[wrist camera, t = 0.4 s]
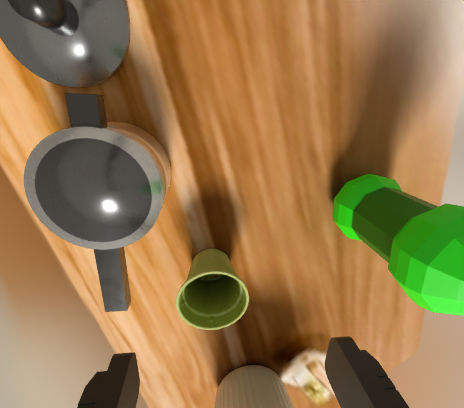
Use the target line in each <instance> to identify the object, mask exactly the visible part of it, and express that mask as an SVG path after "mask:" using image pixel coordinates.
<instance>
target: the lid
mask: <svg viewBox="0 0 464 408" xmlns="http://www.w3.org/2000/svg"><path fill="white" fill-rule="evenodd" d="M0 37H1V39H2V41H3V42H4V44H5V45H6V47H7V48H8V50H9V51H10V52H11V53H12V54H13V55H14V57H15V58H16V59H17V60H18V61H19V62H20V63H21V64H22V65H24V66H25V67H26V68H27V69H29V70H30V71H31V72H33V73H34V74H36V75H37V76H39V77H41V78H43V79H45V80H47V81H49V82H52V83H55V84H58V85H62V86H68V87H89V86H94V85H97V84H99V83H101V82H103V81H105V80H107V79H108V78H110V77H111V76H112V75H113V74H114V73H115V72H116V71H117V70H118V69H119V67H120V66H121V64H122V63H123V61H124V59H125V56H126V54H127V51H128V47H129V42H130V20H129V14H128V10H127V6H126V3H125V0H0Z"/></svg>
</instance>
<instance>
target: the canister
mask: <svg viewBox="0 0 464 408" xmlns="http://www.w3.org/2000/svg"><path fill="white" fill-rule="evenodd" d="M215 408H294V407H293V405H292V402H291V400H290V398H289V395H288V393H287V391H286V388H285V386H284V384H283V382H282V380H281V379H280V378H279V376H278V375H277V374H276V373H275V372H274V371H273V370H270V369H269V368H266V367H265V366H261V365H259V366H257V365H249V366H247V365H246V366H244V367H243V366H242V367H240V368H237V369H236V370H233V371H232V372H230V373H229V374H228V375H226V376H225V378H223V380H222V381H221V383H220V385H219V387H218V390H217V393H216V399H215Z"/></svg>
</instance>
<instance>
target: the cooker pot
mask: <svg viewBox="0 0 464 408" xmlns="http://www.w3.org/2000/svg"><path fill="white" fill-rule="evenodd" d="M65 97H66V102H67V107H68V113H69V118H70V124H71V128H67V129H63V130H60V131H57V132H55V133H53V134H51V135H49V136H48V137H46V138H45V139H43V140H42V141H41V142H40V143H39V144H38V145H37V146H36V147H35V148H34V150H33V151H32V152H31V154H30V156H29V158H28V160H27V163H26V167H25V171H24V187H25V192H26V196H27V199H28V202H29V204H30V206H31V208H32V210H33V211H34V213H35V214H36V216H37V217H38V218H39V219H40V221H41V222H42V223H43V224H44V225H45V226H46V227H47V228H48V229H49V230H50V231H52V232H53V233H54V234H56V235H57V236H59V237H61V238H62V239H64V240H66V241H68V242H70V243H72V244H75V245H78V246H81V247H85V248H90V249H94V253H95V258H96V264H97V269H98V274H99V280H100V285H101V291H102V296H103V301H104V307H105V312H110V311H127V310H128V307H129V305H130V302H131V296H130V289H129V281H128V274H127V267H126V259H125V252H124V246H127V245H129V244H132V243H134V242H136V241H137V240H139V239H140V238H142V237H143V236H144V235H145V234H146V233H147V232H148V231H149V230H150V229H151V228H152V226H153V225H154V223H155V222H156V220H157V218H158V215H159V213H160V210H161V208H162V205H163V203H164V201H165V198H166V196H167V193H168V191H169V188H170V184H171V166H170V162H169V159H168V156H167V154H166V152H165V150H164V149H163V147H162V146H161V144H160V143H159V142H158V141H157V140H156V139H155V138H154V137H153V136H152V135H151V134H149V133H148V132H146V131H145V130H143V129H141V128H139V127H137V126H135V125H132V124H129V123H124V122H116V121H115V122H107V119H106V112H105V105H104V97H103V95H96V94H73V93H65Z"/></svg>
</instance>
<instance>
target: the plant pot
mask: <svg viewBox="0 0 464 408" xmlns="http://www.w3.org/2000/svg"><path fill="white" fill-rule="evenodd" d="M217 275H218V276H217ZM211 276H217V277H215V278H210V277H211ZM248 303H249V295H248V291H247V288H246V286H245V284H244V283H243V282H242V281H241V280H240V279H239V278H238V277H237V276H236V274H235V271H234V269H233V267H232V264H231V262H230V260H229V258H228V256H227V255H226V254H225V253H224V252H222V251H220V250H218V249H213V248H210V249H205V250H203V251H201V252H199V253H198V254H197V255H196V256H195V258H194V259H193V262H192V265H191V268H190V271H189V274H188V278H187V281H186V282H185V283H184V284H183V285H182V286H181V288H180V290H179V292H178V294H177V298H176V307H177V311H178V313H179V315H180V317H181V318H182V319H183V320H184V321H185V322H186V323H188V324H189V325H191V326H193V327H196V328H199V329H204V330H216V329H221V328H224V327H227V326H229V325H231V324H233V323H234V322H236V321H237V320H238V319H239V318H241V316H242V315H243V314H244V313H245V311H246V309H247V306H248Z"/></svg>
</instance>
